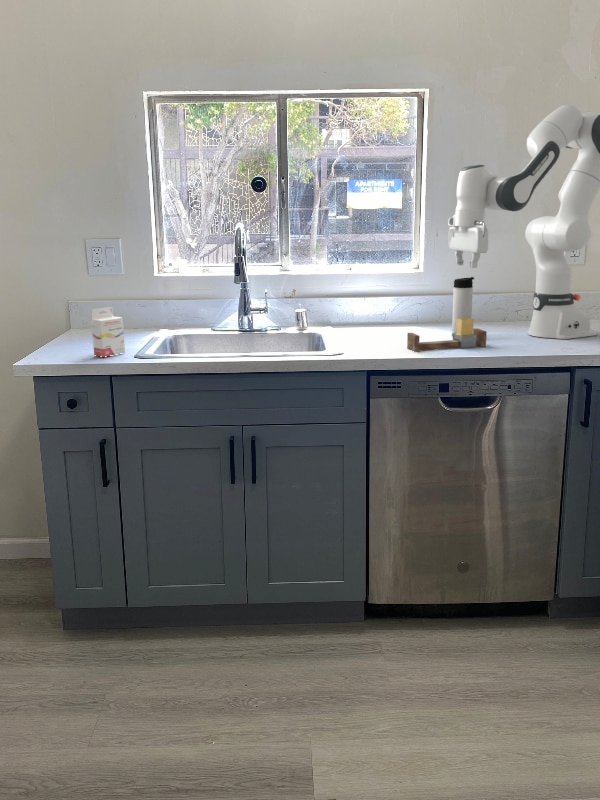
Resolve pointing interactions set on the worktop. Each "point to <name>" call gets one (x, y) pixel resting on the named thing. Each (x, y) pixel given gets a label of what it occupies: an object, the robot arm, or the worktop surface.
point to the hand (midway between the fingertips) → (466, 266)
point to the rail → (442, 342)
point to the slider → (465, 333)
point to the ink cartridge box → (107, 332)
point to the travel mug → (462, 300)
